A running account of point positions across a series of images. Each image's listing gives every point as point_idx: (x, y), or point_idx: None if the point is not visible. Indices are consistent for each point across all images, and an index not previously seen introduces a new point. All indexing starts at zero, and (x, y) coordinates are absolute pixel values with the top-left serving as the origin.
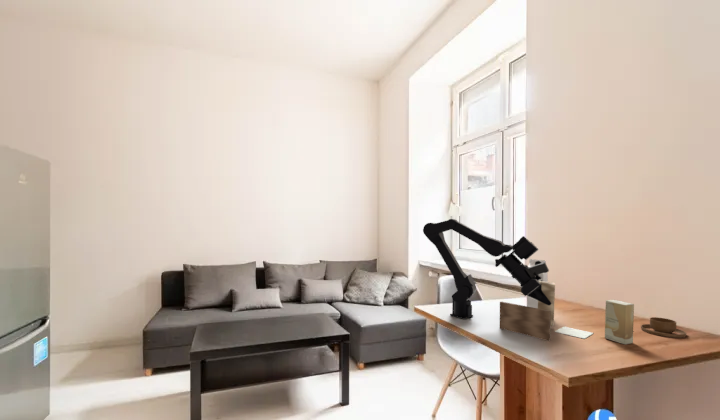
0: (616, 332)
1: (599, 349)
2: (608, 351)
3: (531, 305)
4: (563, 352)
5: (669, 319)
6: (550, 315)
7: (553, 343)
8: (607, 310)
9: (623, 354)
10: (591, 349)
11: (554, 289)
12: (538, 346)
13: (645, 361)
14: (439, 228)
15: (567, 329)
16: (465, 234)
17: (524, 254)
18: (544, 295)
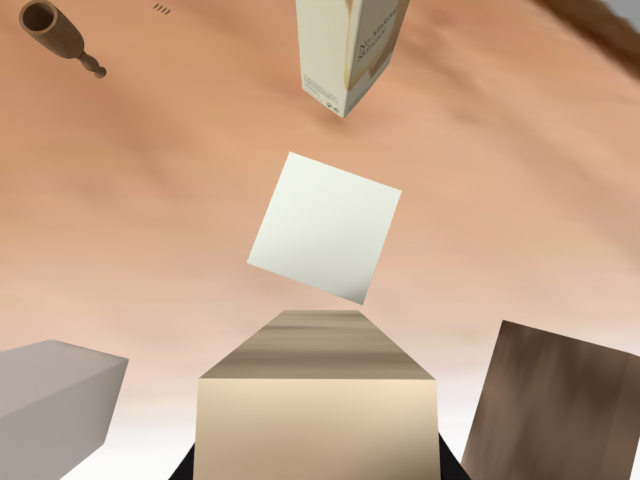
0: (380, 59)
1: (511, 151)
2: (516, 125)
3: (59, 455)
4: (635, 272)
5: None
6: (598, 345)
7: (542, 307)
8: (370, 10)
9: (520, 84)
10: (529, 177)
11: (412, 363)
12: None
13: (555, 33)
14: None
15: (293, 250)
16: None
17: None
18: (439, 438)
